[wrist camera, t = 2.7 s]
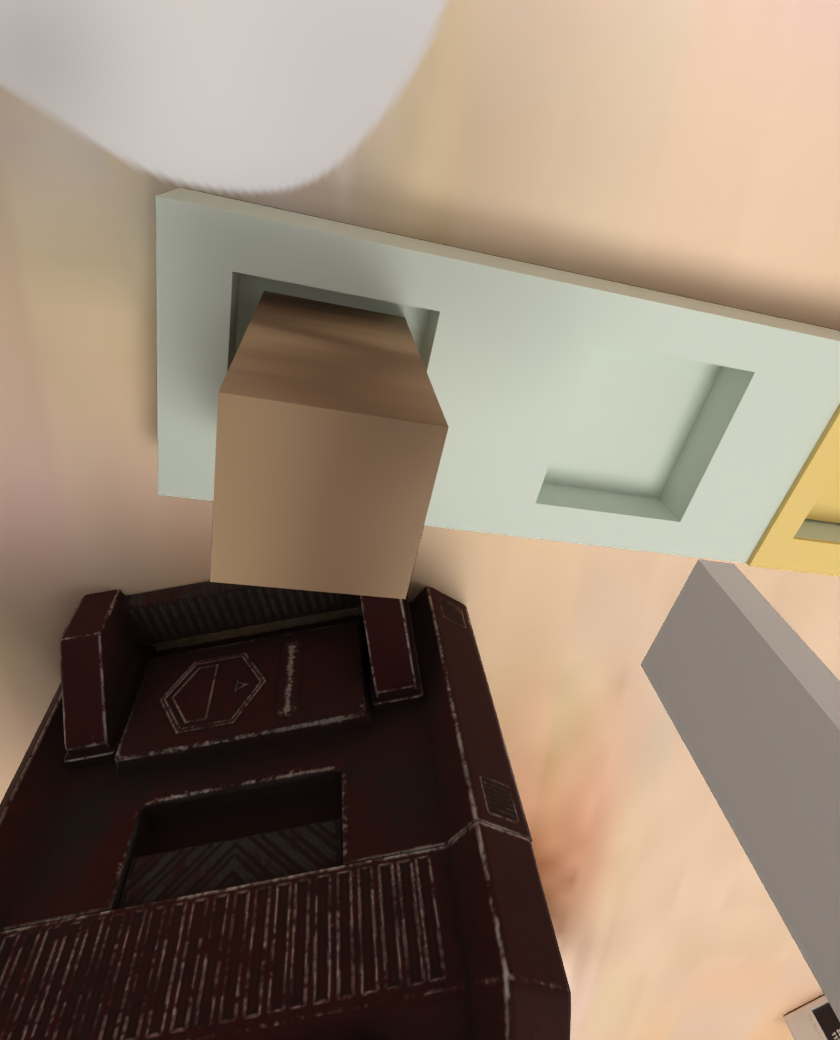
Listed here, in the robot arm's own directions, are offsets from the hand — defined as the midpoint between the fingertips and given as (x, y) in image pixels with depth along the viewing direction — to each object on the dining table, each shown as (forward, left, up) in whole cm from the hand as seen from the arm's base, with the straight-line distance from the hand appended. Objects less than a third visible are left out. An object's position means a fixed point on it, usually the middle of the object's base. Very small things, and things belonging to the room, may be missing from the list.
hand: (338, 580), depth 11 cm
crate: (+3, -26, -13) cm, 30 cm away
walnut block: (0, 0, -12) cm, 12 cm away
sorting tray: (+11, 0, -13) cm, 17 cm away
